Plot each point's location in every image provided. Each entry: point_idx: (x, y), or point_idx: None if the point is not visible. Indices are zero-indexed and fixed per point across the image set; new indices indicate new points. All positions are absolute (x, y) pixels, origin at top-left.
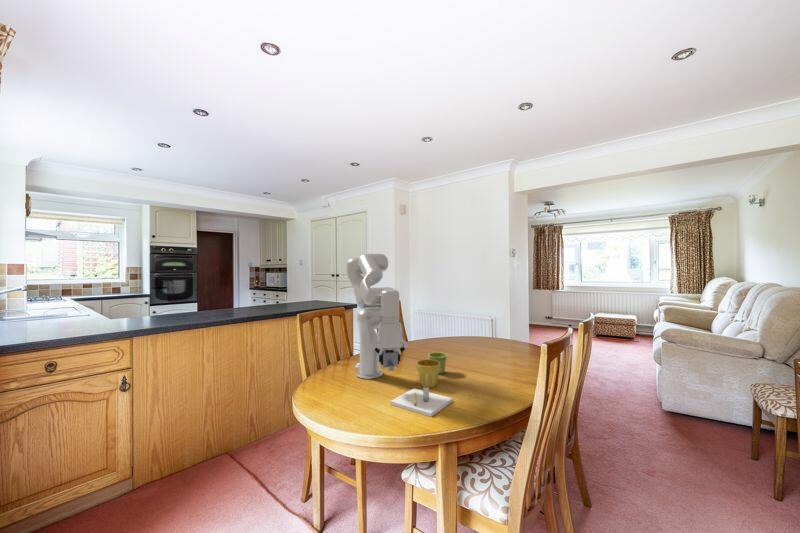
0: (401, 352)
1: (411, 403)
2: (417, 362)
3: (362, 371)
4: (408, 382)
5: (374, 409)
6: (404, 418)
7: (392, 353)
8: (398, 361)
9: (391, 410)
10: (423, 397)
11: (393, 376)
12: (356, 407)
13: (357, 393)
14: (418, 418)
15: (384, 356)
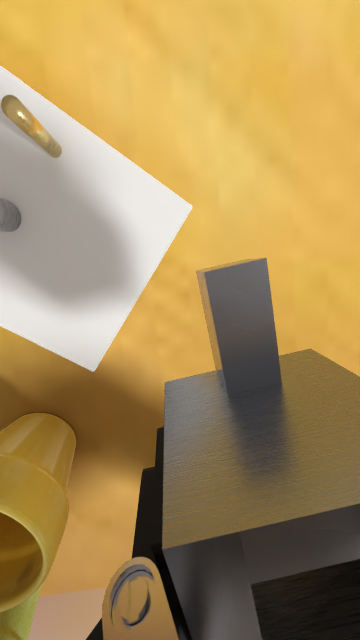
0: (104, 622)
1: (78, 176)
2: (43, 559)
3: None
4: (133, 452)
5: (260, 143)
6: (100, 18)
7: (294, 521)
8: (161, 445)
9: (178, 132)
10: (3, 202)
11: None
12: (342, 166)
13: (338, 325)
14: (24, 17)
15: None
